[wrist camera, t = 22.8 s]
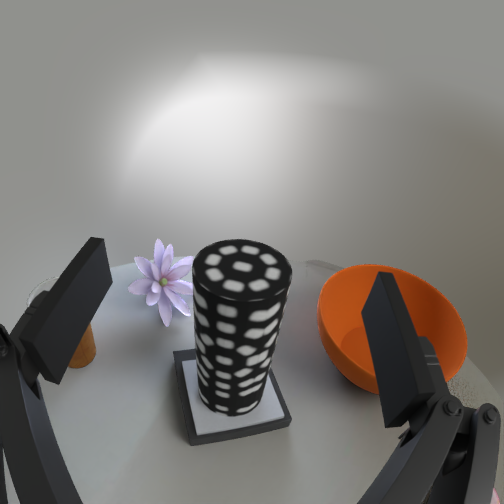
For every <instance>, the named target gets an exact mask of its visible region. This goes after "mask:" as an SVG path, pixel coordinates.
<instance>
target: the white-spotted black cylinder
mask: <svg viewBox="0 0 504 504" xmlns="http://www.w3.org/2000/svg"><path fill="white" fill-rule="evenodd" d="M192 276H193V306H194V328H195V347H196V363H197V377H198V390H199V396H200V398H201V400H202V402H203V403H204V404H205V406H206V407H207V408H209V409H210V410H211V411H213V412H215V413H217V414H219V415H222V416H227V417H236V416H242V415H245V414H247V413H249V412H251V411H253V410H254V409H255V408H256V407H257V406H258V404H259V403H260V401H261V399H262V396H263V393H264V389H265V385H266V381H267V378H268V374H269V370H270V366H271V362H272V358H273V354H274V350H275V346H276V342H277V338H278V334H279V330H280V326H281V322H282V318H283V314H284V309H285V305H286V301H287V297H288V292H289V288H290V283H291V279H292V269H291V265H290V263H289V262H288V260H287V259H286V258H285V257H284V255H282V254H281V253H280V252H279V251H277V250H276V249H274V248H272V247H270V246H268V245H265V244H263V243H260V242H256V241H251V240H242V239H232V240H224V241H220V242H216V243H213V244H211V245H209V246H206V247H205V248H204V249H202V250H201V251H200V252H199V253H198V254H197V255H196V257H195V259H194V261H193V266H192Z"/></svg>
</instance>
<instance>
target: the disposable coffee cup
mask: <svg viewBox="0 0 504 504" xmlns="http://www.w3.org/2000/svg"><path fill="white" fill-rule="evenodd" d="M58 278H59V277H53V278H50V279H47V280H45V281H43V282H42V283H40V284H39V285H37V286H36V287H35V288H34V289H33V290H32V292H31V293H30V295H29V297H28V300H27V308H28V307H29V305H30V303H31V302H32V301H33V299H34V298H35V297H36V296H37V295H38V294H39V293H41V292H42V291H43V290H46V291H50V289H51V288H52V286H53V285H54V284H55V282H56V281H57V280H58ZM95 354H96V347H95V343H94V338H93V333H92V328H91V324H89V326H88V328H87V329H86V331H85V333H84V335H83V337H82V339H81V341H80V343H79V345H78V347H77V349H76V351H75V353H74V355H73V357H72V359H71V361H70V363H69V365H68V367H71V368H81V367H84V366H86V365H88V364H89V363H90V362H91V361H92V360H93V359H94V357H95Z"/></svg>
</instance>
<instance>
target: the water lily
mask: <svg viewBox="0 0 504 504" xmlns="http://www.w3.org/2000/svg"><path fill="white" fill-rule="evenodd" d="M173 254H174V253H173V246H172V245H171V244H169V245H168V247H167V248H166V250H165V249H164V246H163V244H162V242H161V241H160V240H159V239H157V240H156V242H155V246H154V263H150V262H149V261H148V260H147V259H146V258H143V257H140V256H136V257H134V260H135V263H136V265H137V267H138V268H139V270H140V271H141V272H142V273H143V274H144V275H145V276H146V277H148V278H142V279H138V280H136V281H134V282H133V283H131V284H130V285H129V287H128V289H127V290H128V291H129V292H130V293H132V294H135V295H145V294H147V297H146V304H147V305H149V306H151V305H154V304H156V303H158V309H159V313H160V316H161V319H162V321H163V323H164V324H165V326H166V327H168V326H169V325H170V323H171V319H172V308H171V303H172V304H173V305H174V306H175V307H176V308H177V309H178V310H179V311H180V312H182V313H183V314H185V315H186V316H190V311H189V308H188V306H187V304H186V303H185V301H184V300H183V299H182V298H181V297H180V296H179V295H178V294H176V293H175V292H177V293H180V294H185V295H193V284H192V283H190V282H187V281H183V280H178V279H181V278H183V277H184V276H186V275H187V274H188V273H189V271H190V270H191V265H192V263H193V260H194V257H193V256H188V257H185V258H183V259H181V260H179V261H178V262H177V263H176V264H174V265H173V266H172V267H171V264H172V260H173ZM170 267H171V269H170ZM169 269H170V270H169ZM172 290H173V291H172ZM170 302H171V303H170Z"/></svg>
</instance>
